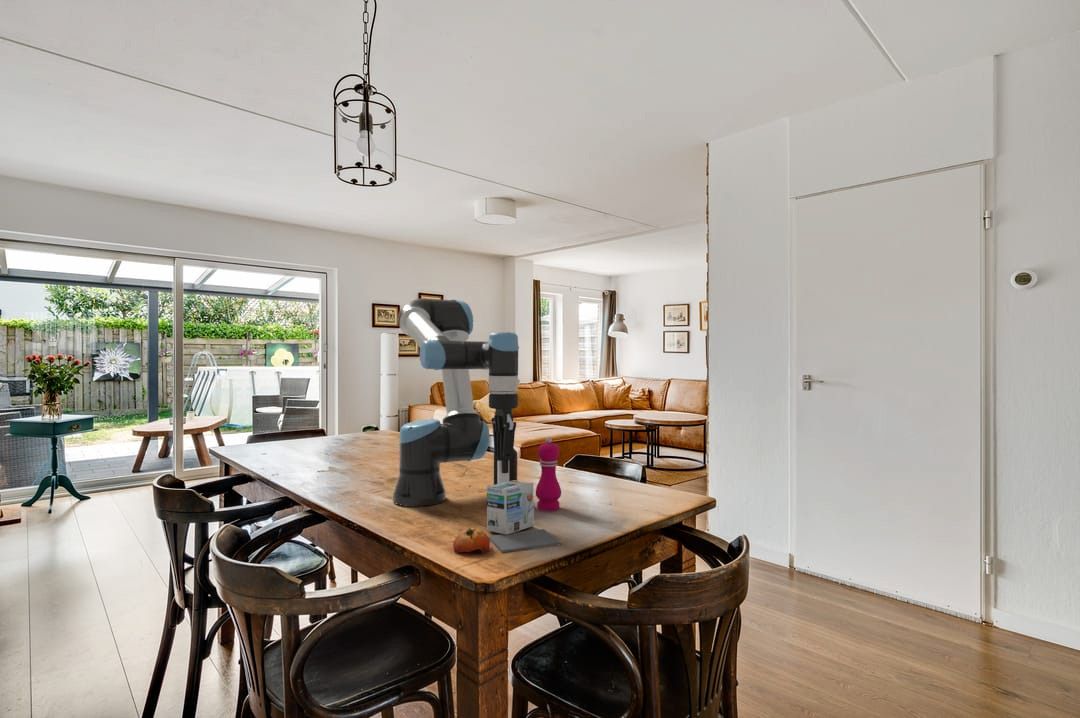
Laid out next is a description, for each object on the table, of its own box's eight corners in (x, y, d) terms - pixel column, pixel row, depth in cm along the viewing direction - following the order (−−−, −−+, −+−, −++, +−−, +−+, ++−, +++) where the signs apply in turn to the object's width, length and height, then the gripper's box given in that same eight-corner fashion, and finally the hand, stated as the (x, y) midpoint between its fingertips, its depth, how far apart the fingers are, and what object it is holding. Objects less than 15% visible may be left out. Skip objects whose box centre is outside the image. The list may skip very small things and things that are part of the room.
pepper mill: (563, 511, 146) (563, 438, 147) (537, 512, 145) (538, 439, 145) (558, 504, 154) (558, 435, 154) (533, 505, 152) (533, 435, 152)
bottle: (495, 501, 157) (495, 433, 157) (518, 501, 156) (518, 433, 156) (492, 507, 150) (492, 436, 150) (516, 508, 150) (516, 436, 150)
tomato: (443, 541, 117) (464, 514, 119) (462, 556, 121) (483, 530, 123) (459, 558, 111) (482, 529, 113) (479, 573, 114) (501, 545, 116)
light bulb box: (506, 535, 124) (506, 488, 125) (485, 531, 128) (485, 486, 129) (535, 525, 133) (534, 482, 133) (514, 522, 137) (513, 479, 137)
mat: (488, 538, 124) (488, 536, 124) (543, 531, 129) (543, 529, 129) (501, 552, 115) (501, 550, 115) (560, 544, 120) (560, 542, 120)
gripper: (526, 393, 132) (526, 489, 132) (509, 391, 144) (508, 478, 144) (497, 394, 129) (497, 492, 129) (482, 391, 141) (481, 481, 141)
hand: (503, 485), depth 136 cm, fingers closed
